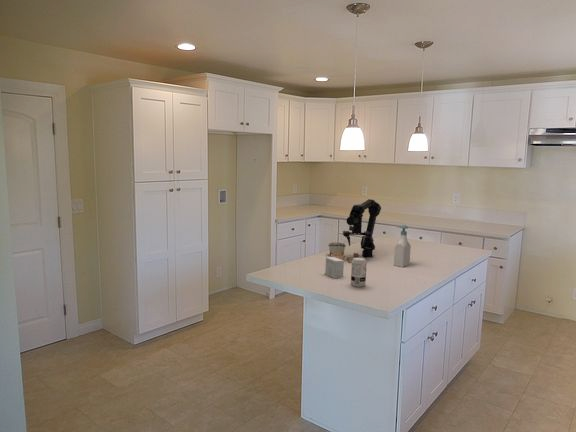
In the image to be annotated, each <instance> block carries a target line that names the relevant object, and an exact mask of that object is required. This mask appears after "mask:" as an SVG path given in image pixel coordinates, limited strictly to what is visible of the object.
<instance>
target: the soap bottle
mask: <svg viewBox="0 0 576 432" xmlns="http://www.w3.org/2000/svg"><path fill="white" fill-rule="evenodd" d="M396 227H397V228H400V229H402V230H401V231H400V234H399V235H400V236H399V240H397V241H398V242H397V243H396V244H395V246H394V254H393V266H394V267H398V266H399V268H405V267H407V266H409V265H410V262H411V248H412V247H411V243H410V242H409V241H408V236H407V234H408V233H407V231H406V229H408V228H409V227H408V226H407V225H406V224H402V225H396ZM404 266H405V267H404Z"/></svg>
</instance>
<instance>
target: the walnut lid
mask: <svg viewBox="0 0 576 432" xmlns="http://www.w3.org/2000/svg"><path fill="white" fill-rule="evenodd" d="M352 255H353V257H346V259H347V260H348V261H349V263H348V264H352V260H353V258H360V254H359V253H357V252H354V253H353V254H352ZM347 260H346V261H347ZM348 261H347V262H348Z"/></svg>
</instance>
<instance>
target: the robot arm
mask: <svg viewBox="0 0 576 432" xmlns="http://www.w3.org/2000/svg"><path fill="white" fill-rule="evenodd" d="M365 210H368V215H369V218H368V222H367V225H366V231H363V232H362V225H363V217H364V215H363V214H364V213H365ZM381 211H382V207H381V204H379V202H376V200H374V199H371V198H370V199H367V200H365V201H364V202H362V203H360V204H354V205H353V206H352V207H351V210H350V213H349V216H348V217H347V218H346V224H347V225H348V226H349V227H348V229H349V230H343V231H342V236H343V237H345V238H346V239H347V242H348V247H350V246H351V236H361V239H360V248H361V249H362V252H361V256H362V258H364V259H366V258H368V259H373V258H374V257H373V251H374V250H375V249H376V245H375V244H374V243H375V242H374V241H375V240H374V237H373V234H374V230H375V224H376V220H377V217H378V216H379V215H380V213H381Z"/></svg>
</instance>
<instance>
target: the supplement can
mask: <svg viewBox="0 0 576 432" xmlns="http://www.w3.org/2000/svg"><path fill="white" fill-rule="evenodd" d="M352 258H353V257H352ZM367 264H368V262H367V260H366V258H364V257H359V258H353V260H352V263H351V269H350V271H351V273H350V284H351V286H353V287H356V286H357V288H361V286H363V287H364V286H366V282H367Z"/></svg>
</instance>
